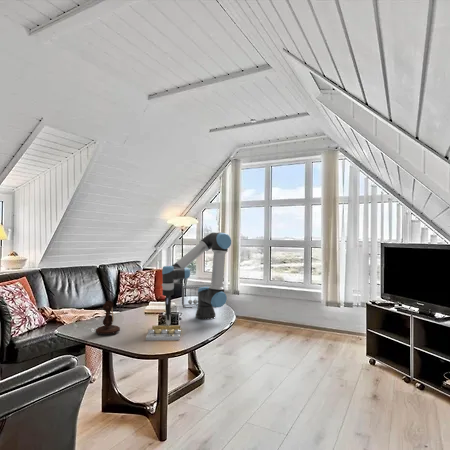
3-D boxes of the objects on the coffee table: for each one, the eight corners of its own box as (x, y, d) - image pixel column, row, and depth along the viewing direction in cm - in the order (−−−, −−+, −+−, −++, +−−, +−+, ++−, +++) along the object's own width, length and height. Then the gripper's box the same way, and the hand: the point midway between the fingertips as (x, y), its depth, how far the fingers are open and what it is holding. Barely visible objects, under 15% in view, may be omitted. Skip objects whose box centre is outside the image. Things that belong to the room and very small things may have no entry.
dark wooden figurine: (118, 335, 220) (119, 303, 221) (93, 336, 217) (94, 304, 218) (120, 329, 235) (121, 299, 235) (97, 330, 232) (98, 299, 232)
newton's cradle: (182, 308, 299) (182, 287, 299) (181, 305, 309) (181, 285, 309) (217, 307, 304) (217, 286, 304) (215, 304, 314) (215, 284, 315)
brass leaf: (181, 331, 230) (181, 325, 231) (180, 336, 220) (180, 330, 220) (150, 331, 230) (151, 325, 230) (148, 336, 219) (148, 330, 219)
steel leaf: (180, 334, 223) (180, 328, 223) (179, 340, 212) (179, 333, 212) (149, 335, 222) (149, 329, 222) (145, 340, 211) (145, 334, 211)
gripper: (163, 287, 243) (163, 321, 243) (161, 291, 230) (161, 327, 229) (174, 287, 243) (174, 321, 243) (172, 290, 230) (173, 327, 230)
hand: (168, 324), depth 236 cm, fingers closed
